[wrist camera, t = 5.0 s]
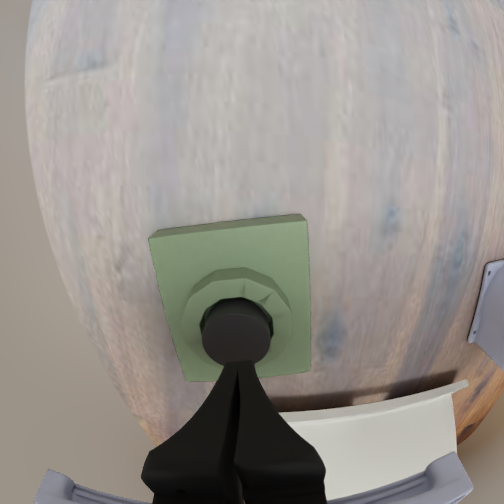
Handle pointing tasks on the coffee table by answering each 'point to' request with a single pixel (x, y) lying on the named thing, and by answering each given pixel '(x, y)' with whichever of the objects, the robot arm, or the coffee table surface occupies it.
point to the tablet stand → (379, 438)
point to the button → (236, 332)
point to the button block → (237, 287)
